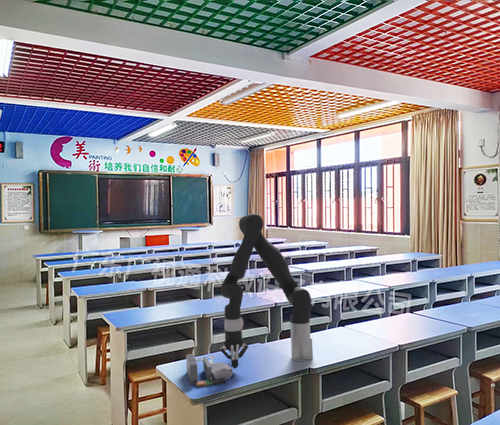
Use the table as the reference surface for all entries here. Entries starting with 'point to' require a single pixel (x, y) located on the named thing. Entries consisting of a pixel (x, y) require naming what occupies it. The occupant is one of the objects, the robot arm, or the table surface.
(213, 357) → the scissors
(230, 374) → the stone block
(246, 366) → the table surface
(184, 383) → the table surface
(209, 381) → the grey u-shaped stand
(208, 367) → the thin grey slab
